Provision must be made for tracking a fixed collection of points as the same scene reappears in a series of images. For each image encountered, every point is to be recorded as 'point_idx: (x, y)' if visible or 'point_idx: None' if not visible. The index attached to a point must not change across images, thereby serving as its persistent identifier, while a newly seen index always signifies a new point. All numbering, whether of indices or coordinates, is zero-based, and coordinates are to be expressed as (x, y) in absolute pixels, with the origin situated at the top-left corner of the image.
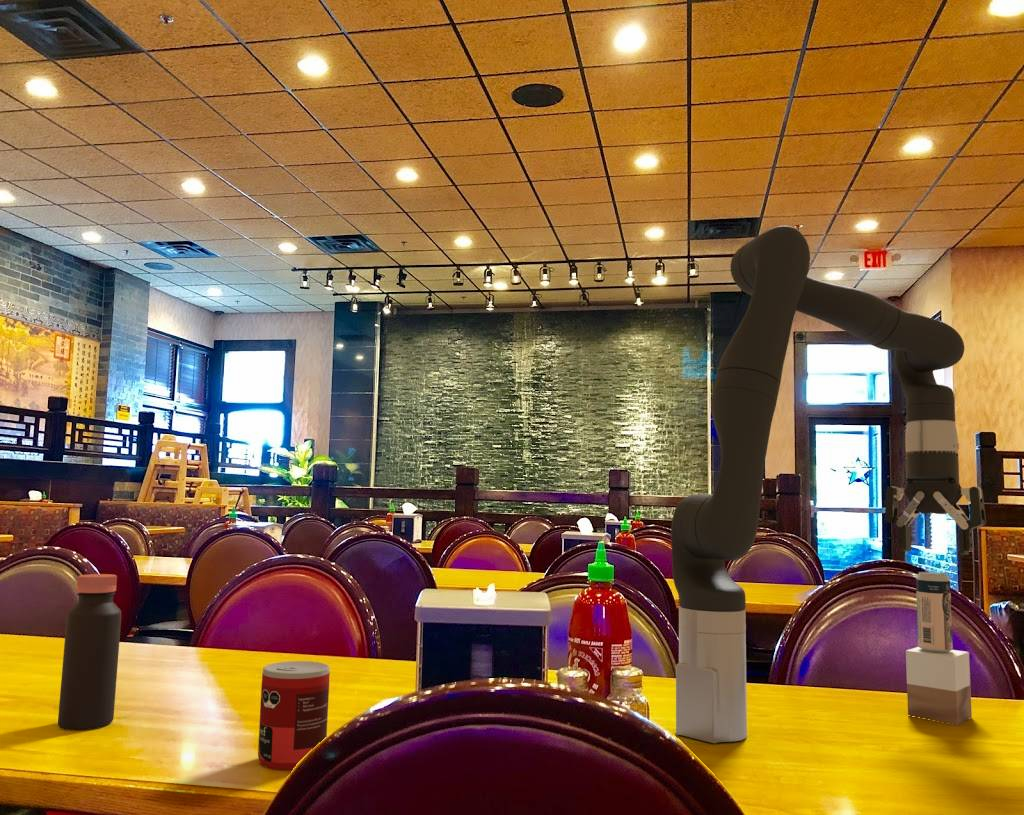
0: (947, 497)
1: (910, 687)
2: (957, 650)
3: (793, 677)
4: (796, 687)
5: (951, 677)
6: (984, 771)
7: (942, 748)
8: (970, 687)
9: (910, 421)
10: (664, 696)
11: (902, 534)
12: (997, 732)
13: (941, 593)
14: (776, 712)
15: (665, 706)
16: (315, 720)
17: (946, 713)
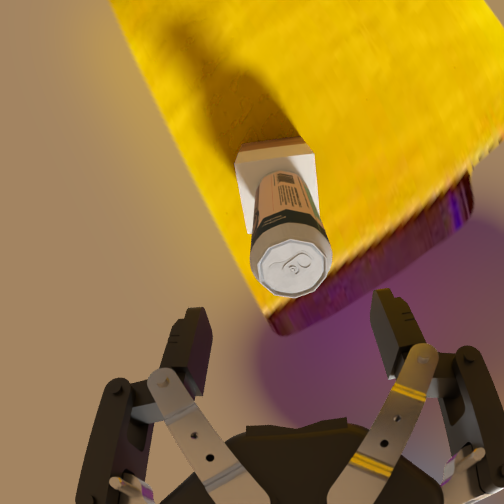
0: (209, 498)
1: (300, 143)
2: None
3: (464, 220)
4: (448, 173)
5: (242, 155)
6: (138, 6)
7: (200, 34)
8: None
9: None
10: (493, 22)
11: (402, 324)
12: (201, 155)
13: (259, 225)
14: (401, 28)
15: None
16: None
17: (253, 144)
